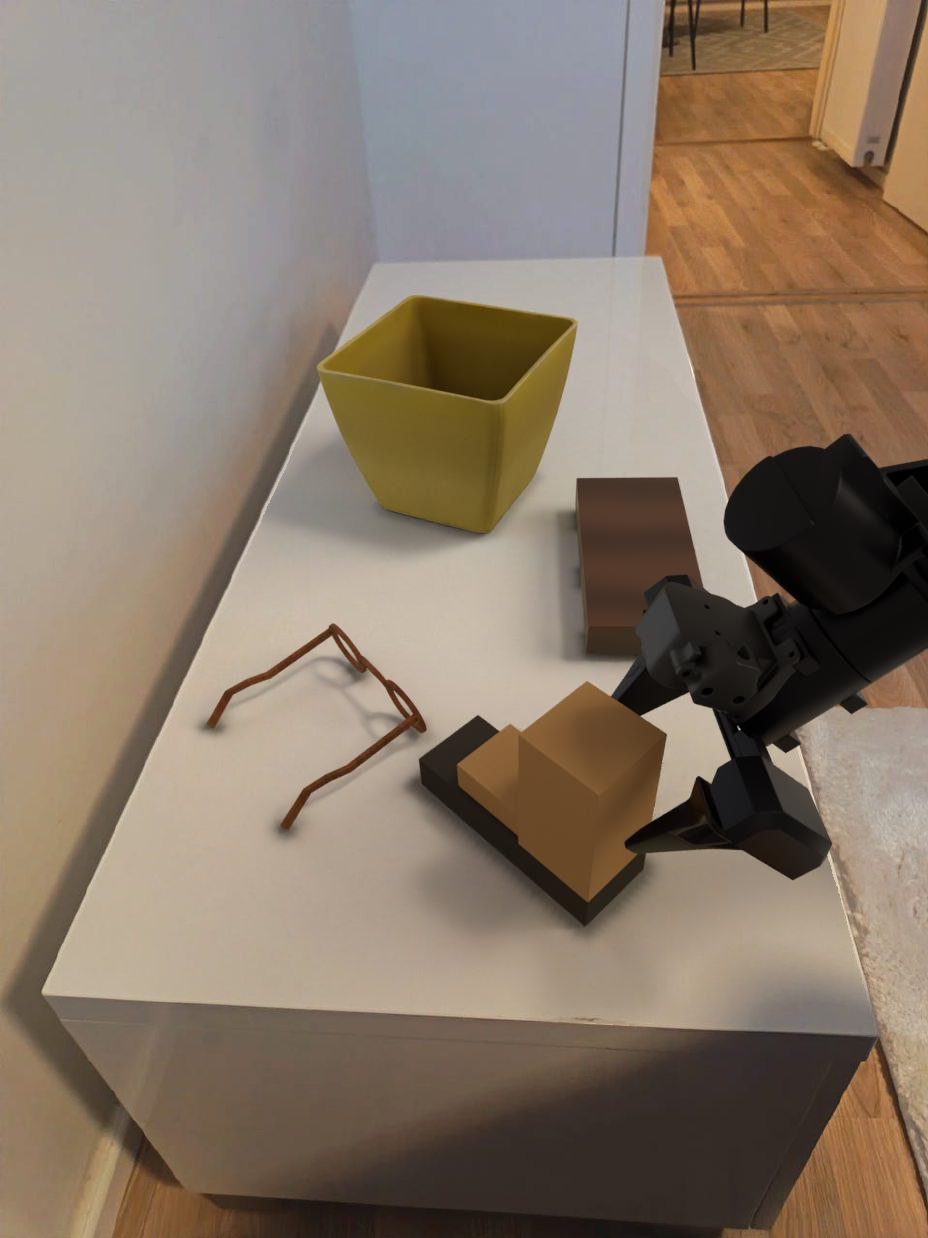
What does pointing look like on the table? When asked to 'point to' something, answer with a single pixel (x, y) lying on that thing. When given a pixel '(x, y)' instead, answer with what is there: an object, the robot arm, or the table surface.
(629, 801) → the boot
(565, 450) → the table surface
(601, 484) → the brown wooden slab
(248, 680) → the glasses
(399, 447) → the flower pot
